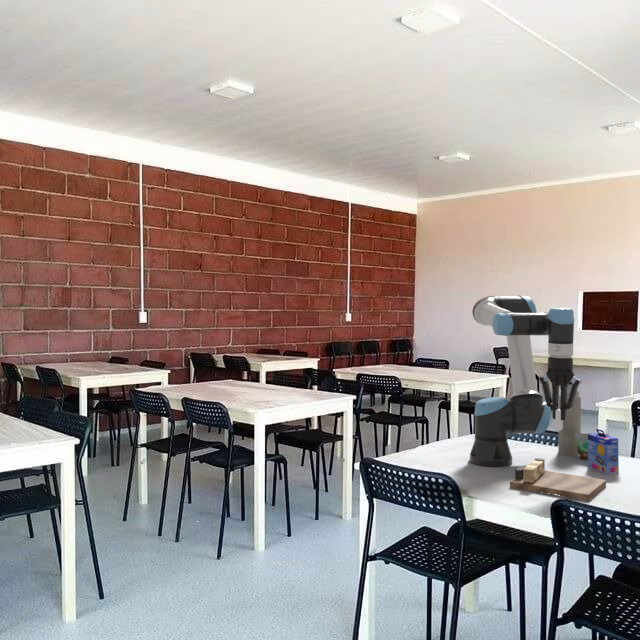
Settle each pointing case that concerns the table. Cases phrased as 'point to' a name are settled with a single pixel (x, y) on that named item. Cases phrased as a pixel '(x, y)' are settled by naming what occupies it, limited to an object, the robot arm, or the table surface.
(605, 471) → the ink cartridge box
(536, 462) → the stool leg
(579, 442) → the food container
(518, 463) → the table surface
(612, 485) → the table surface
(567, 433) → the thermos bottle
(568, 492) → the board
